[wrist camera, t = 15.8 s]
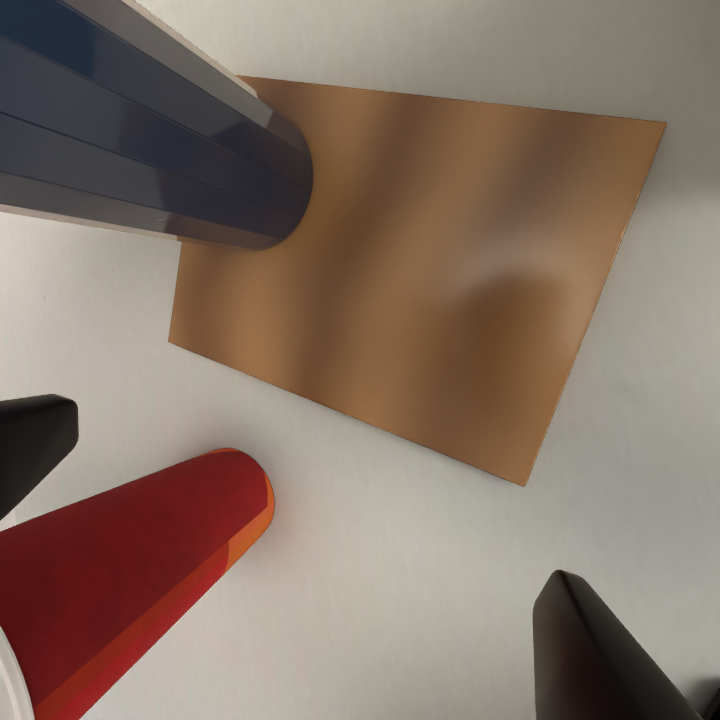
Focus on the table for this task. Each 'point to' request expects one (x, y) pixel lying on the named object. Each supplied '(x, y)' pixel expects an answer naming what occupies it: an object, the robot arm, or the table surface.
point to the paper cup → (117, 577)
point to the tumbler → (140, 130)
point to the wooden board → (427, 265)
